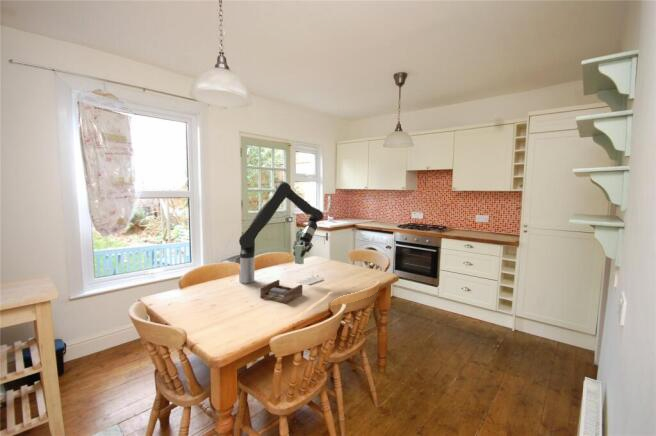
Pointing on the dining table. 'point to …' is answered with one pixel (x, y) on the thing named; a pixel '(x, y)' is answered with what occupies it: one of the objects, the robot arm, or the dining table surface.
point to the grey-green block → (297, 254)
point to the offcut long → (276, 295)
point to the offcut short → (278, 291)
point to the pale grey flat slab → (310, 280)
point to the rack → (288, 296)
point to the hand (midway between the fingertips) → (297, 255)
